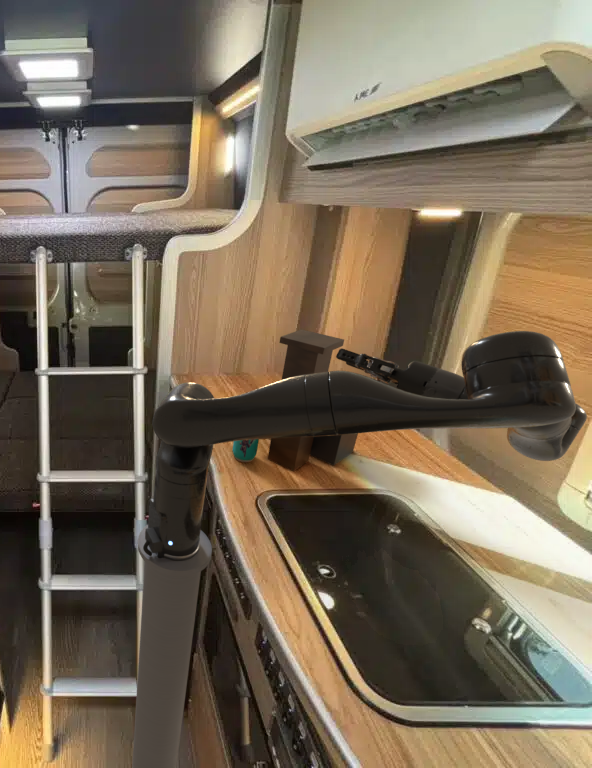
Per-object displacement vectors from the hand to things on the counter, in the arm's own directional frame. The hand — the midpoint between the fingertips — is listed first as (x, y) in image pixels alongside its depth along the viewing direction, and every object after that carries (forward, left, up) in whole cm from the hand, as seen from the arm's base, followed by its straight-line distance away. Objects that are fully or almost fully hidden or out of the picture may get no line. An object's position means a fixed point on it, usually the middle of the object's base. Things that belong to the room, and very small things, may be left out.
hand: (343, 356), depth 97 cm
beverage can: (-11, +12, -31) cm, 35 cm away
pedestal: (-1, +9, -31) cm, 32 cm away
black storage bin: (+8, +16, -31) cm, 36 cm away
